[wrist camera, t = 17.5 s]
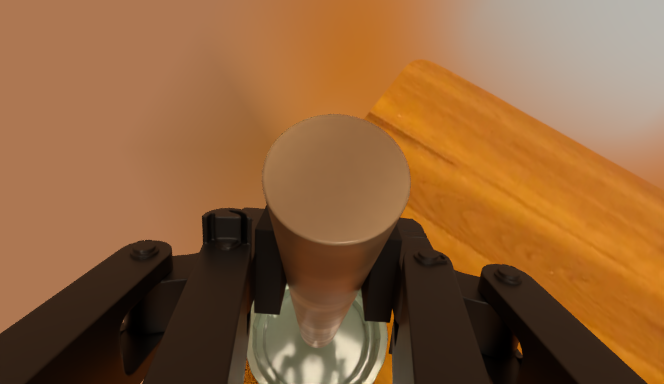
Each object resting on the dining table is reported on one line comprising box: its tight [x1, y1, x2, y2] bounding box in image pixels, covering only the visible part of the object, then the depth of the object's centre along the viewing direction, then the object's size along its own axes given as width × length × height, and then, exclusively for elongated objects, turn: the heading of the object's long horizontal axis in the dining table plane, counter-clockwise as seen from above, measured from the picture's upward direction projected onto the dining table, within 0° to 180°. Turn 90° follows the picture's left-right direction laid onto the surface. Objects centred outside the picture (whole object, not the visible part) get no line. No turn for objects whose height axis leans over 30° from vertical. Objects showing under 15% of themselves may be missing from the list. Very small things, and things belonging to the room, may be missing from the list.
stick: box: [262, 114, 411, 348], centre depth 17 cm, size 3×3×24 cm
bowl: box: [247, 283, 388, 384], centre depth 33 cm, size 11×11×6 cm
